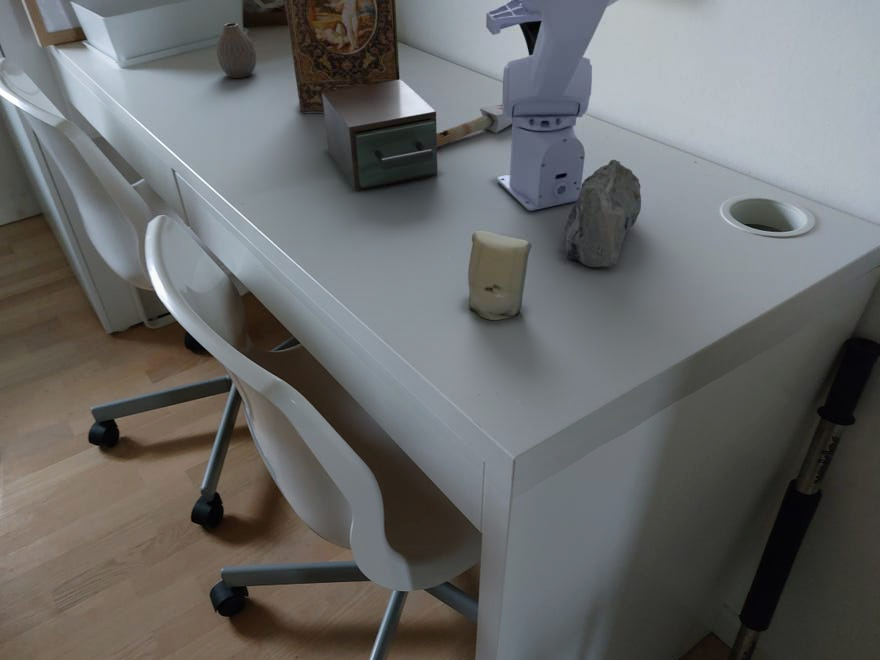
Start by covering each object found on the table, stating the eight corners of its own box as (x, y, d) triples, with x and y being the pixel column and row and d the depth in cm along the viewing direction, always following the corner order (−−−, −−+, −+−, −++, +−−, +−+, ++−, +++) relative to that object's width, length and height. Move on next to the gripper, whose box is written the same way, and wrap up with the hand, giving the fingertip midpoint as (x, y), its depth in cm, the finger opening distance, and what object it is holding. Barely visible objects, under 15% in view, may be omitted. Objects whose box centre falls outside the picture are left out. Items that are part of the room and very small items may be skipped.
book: (297, 113, 116) (271, -63, 100) (304, 101, 120) (280, -70, 104) (397, 111, 114) (387, -68, 98) (400, 99, 119) (392, -75, 103)
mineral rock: (619, 207, 87) (632, 126, 80) (685, 245, 79) (705, 160, 73) (532, 236, 82) (539, 153, 76) (593, 279, 75) (605, 192, 69)
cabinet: (437, 174, 96) (436, 111, 91) (355, 191, 94) (348, 127, 88) (403, 137, 106) (401, 79, 101) (328, 152, 104) (321, 92, 98)
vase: (217, 73, 134) (207, 23, 128) (253, 66, 136) (244, 17, 130) (226, 83, 129) (216, 32, 124) (263, 76, 131) (254, 25, 126)
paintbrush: (546, 96, 108) (439, 136, 100) (545, 114, 109) (440, 155, 102) (529, 89, 110) (423, 128, 103) (528, 107, 112) (424, 146, 105)
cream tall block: (517, 290, 74) (522, 222, 69) (532, 319, 70) (538, 249, 65) (463, 297, 74) (464, 229, 69) (475, 327, 70) (477, 257, 65)
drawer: (448, 185, 92) (447, 134, 87) (371, 201, 89) (366, 149, 85) (405, 138, 104) (402, 91, 99) (336, 151, 102) (330, 103, 97)
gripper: (587, -69, 85) (573, 37, 96) (476, -38, 83) (474, 67, 94) (618, -42, 81) (599, 65, 92) (502, -8, 79) (497, 97, 90)
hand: (538, 68), depth 93 cm, fingers closed
